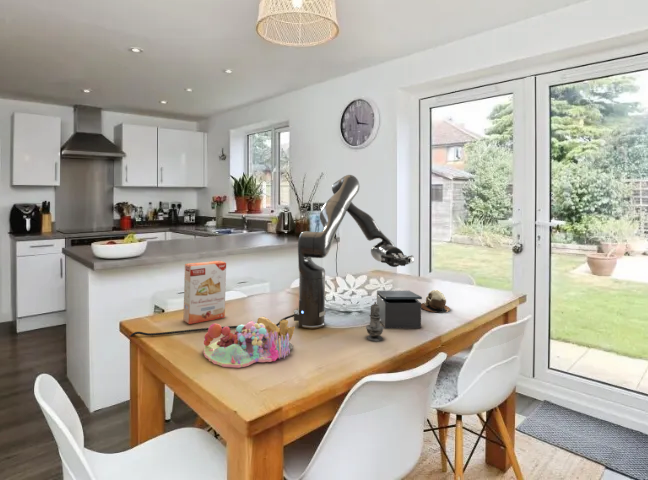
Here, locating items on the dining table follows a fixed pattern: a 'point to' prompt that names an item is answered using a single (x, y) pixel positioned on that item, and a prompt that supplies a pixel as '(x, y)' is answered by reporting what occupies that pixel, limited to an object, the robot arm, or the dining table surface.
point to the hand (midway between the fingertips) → (403, 263)
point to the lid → (399, 295)
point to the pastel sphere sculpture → (248, 343)
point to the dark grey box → (399, 312)
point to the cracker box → (204, 291)
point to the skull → (435, 302)
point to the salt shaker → (374, 324)
